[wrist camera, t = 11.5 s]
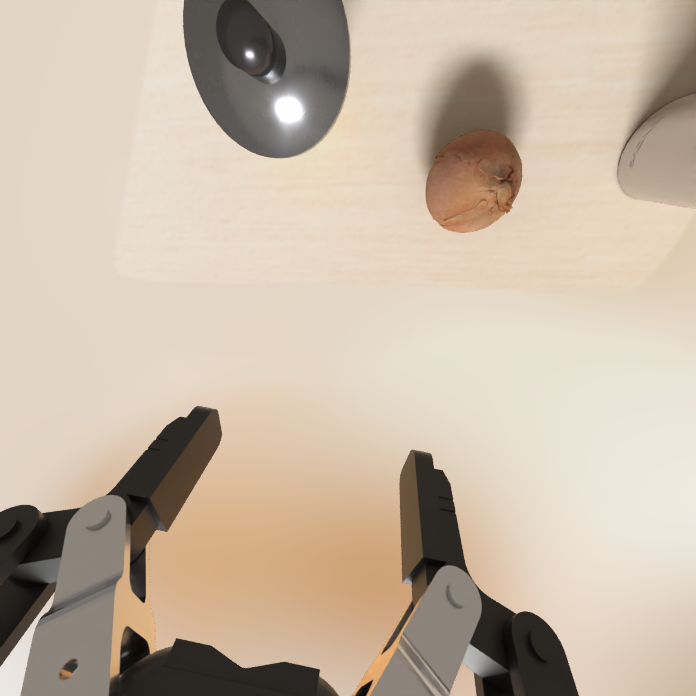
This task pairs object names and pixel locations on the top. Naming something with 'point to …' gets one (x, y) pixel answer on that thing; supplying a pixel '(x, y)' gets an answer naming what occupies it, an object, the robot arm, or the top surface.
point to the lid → (270, 69)
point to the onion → (473, 181)
